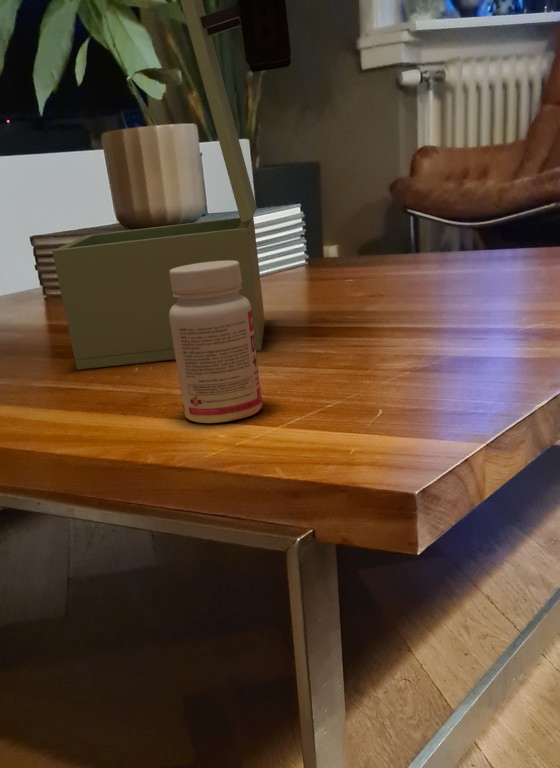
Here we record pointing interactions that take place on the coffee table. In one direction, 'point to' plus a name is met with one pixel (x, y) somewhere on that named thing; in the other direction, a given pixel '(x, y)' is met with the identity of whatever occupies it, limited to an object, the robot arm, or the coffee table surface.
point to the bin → (144, 286)
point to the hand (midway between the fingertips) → (269, 63)
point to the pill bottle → (214, 343)
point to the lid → (220, 95)
